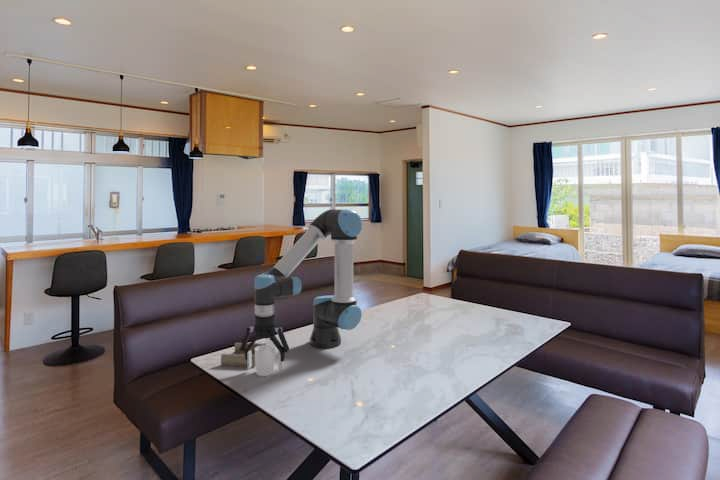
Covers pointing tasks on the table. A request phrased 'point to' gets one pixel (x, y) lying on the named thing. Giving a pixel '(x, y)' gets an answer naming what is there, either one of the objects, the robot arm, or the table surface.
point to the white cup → (264, 360)
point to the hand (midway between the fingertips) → (264, 368)
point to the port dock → (239, 356)
